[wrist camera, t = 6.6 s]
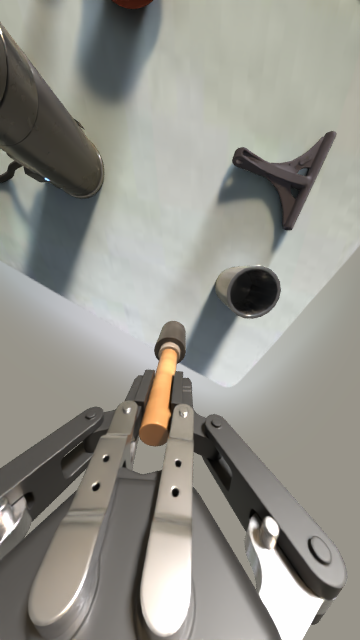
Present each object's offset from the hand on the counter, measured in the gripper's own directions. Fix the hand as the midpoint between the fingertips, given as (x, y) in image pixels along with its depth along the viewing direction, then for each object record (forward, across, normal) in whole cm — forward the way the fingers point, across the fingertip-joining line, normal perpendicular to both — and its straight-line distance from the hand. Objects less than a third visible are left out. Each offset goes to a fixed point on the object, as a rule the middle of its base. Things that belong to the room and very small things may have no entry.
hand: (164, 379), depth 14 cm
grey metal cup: (+25, -12, -6) cm, 28 cm away
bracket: (+25, -16, -26) cm, 39 cm away
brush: (+11, 0, 0) cm, 11 cm away
